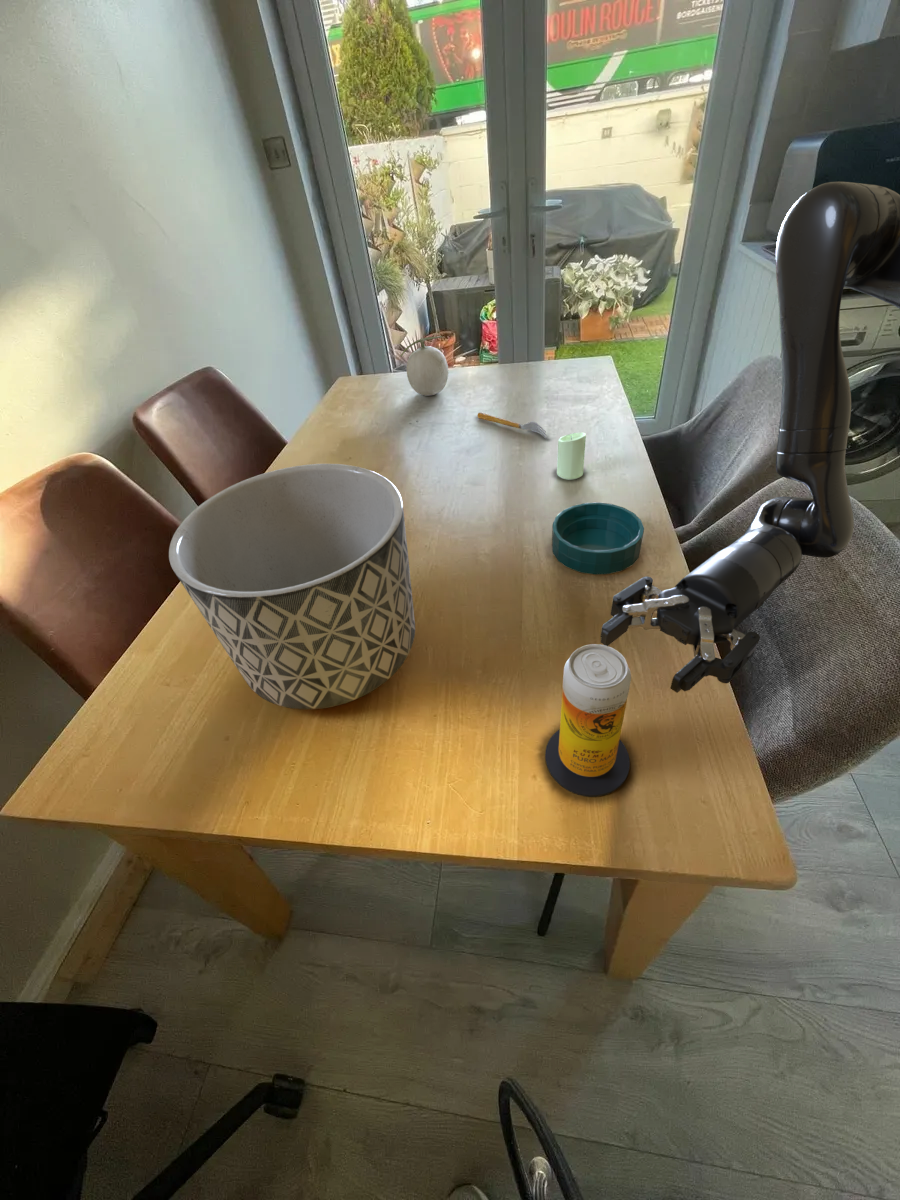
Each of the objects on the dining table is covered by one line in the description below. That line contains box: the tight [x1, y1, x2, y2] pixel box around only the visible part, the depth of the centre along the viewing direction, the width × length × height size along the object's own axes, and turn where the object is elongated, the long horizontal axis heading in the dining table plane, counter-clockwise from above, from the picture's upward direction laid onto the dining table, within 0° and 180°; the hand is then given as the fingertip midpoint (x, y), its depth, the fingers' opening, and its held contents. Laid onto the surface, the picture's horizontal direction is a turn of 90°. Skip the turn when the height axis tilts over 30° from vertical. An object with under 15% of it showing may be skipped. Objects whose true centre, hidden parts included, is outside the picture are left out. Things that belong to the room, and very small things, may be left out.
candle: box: [556, 432, 587, 481], centre depth 104 cm, size 5×5×8 cm
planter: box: [168, 463, 416, 711], centre depth 69 cm, size 26×26×22 cm
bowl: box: [551, 502, 645, 576], centre depth 87 cm, size 14×14×4 cm
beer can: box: [559, 643, 632, 777], centre depth 55 cm, size 6×6×15 cm
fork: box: [477, 411, 548, 440], centre depth 123 cm, size 2×2×20 cm
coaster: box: [544, 728, 631, 798], centre depth 60 cm, size 9×9×1 cm
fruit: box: [400, 335, 449, 397], centre depth 138 cm, size 10×12×15 cm
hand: (637, 661), depth 55 cm, fingers open, 8 cm apart
